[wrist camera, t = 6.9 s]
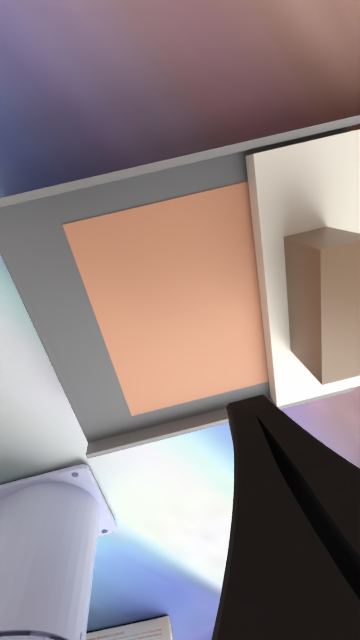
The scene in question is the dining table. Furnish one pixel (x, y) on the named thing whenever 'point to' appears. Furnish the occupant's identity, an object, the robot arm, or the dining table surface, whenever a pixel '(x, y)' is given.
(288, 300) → the cover
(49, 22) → the dining table surface
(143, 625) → the coffeecake box
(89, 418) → the box
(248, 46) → the dining table surface
